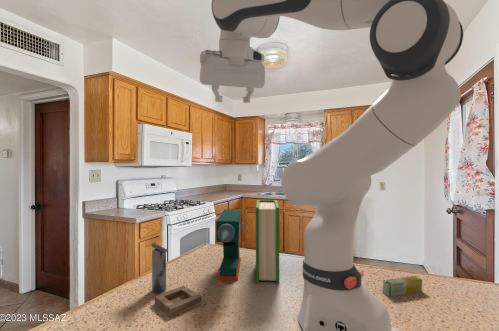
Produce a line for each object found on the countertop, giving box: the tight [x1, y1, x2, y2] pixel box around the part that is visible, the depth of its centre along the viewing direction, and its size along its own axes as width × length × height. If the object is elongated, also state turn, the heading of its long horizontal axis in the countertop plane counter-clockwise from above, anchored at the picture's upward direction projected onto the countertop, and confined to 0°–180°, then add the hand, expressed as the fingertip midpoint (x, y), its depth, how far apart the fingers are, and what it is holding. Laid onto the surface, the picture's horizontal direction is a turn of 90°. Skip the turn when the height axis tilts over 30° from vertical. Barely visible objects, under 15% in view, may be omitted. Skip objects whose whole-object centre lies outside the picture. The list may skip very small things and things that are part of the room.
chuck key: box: [151, 242, 168, 294], centre depth 80 cm, size 8×4×13 cm, turn 45°
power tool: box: [215, 209, 242, 281], centre depth 89 cm, size 32×7×20 cm, turn 179°
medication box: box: [382, 275, 423, 297], centre depth 78 cm, size 12×3×4 cm, turn 106°
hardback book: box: [255, 199, 280, 285], centre depth 93 cm, size 18×7×24 cm, turn 177°
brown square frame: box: [154, 285, 202, 318], centre depth 72 cm, size 9×9×2 cm
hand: (233, 102), depth 81 cm, fingers open, 8 cm apart
